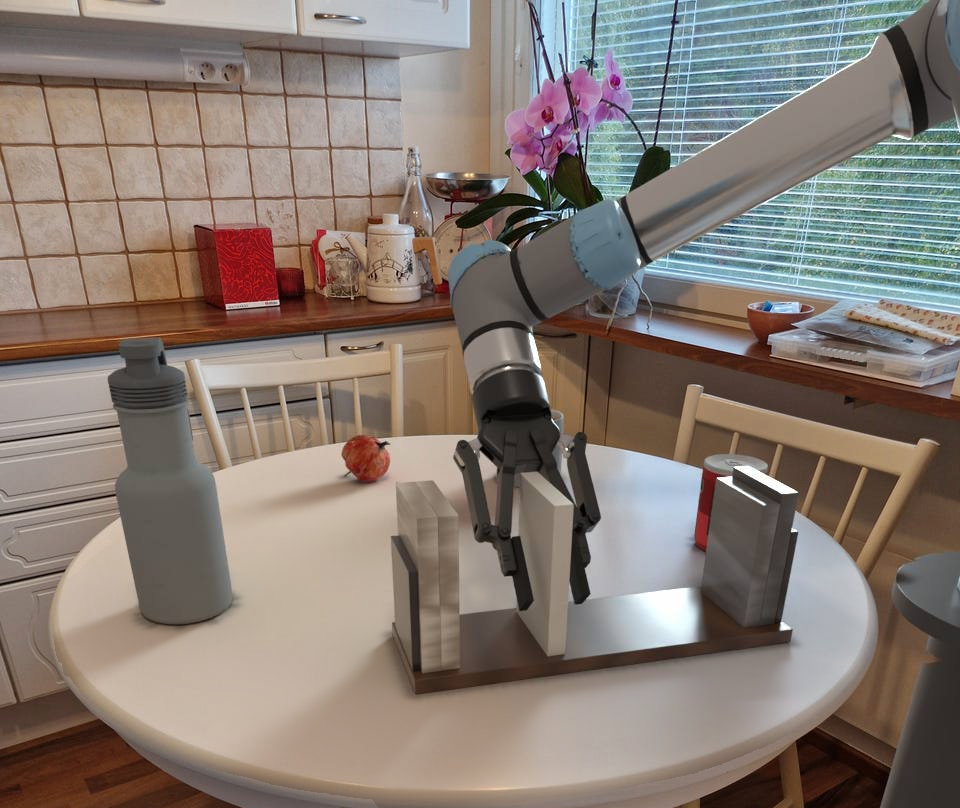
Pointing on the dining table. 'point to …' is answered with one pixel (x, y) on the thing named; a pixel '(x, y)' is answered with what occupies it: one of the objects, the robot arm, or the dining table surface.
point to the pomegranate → (366, 457)
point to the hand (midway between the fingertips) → (554, 602)
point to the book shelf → (596, 622)
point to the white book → (546, 559)
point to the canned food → (711, 470)
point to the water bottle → (166, 493)
